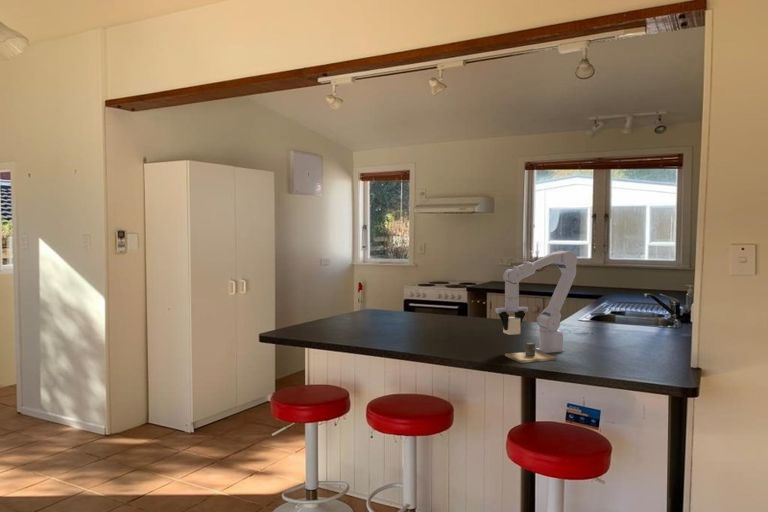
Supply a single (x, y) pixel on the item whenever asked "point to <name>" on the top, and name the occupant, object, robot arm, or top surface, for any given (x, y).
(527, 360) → the post board
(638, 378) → the top surface
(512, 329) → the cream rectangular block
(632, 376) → the top surface
